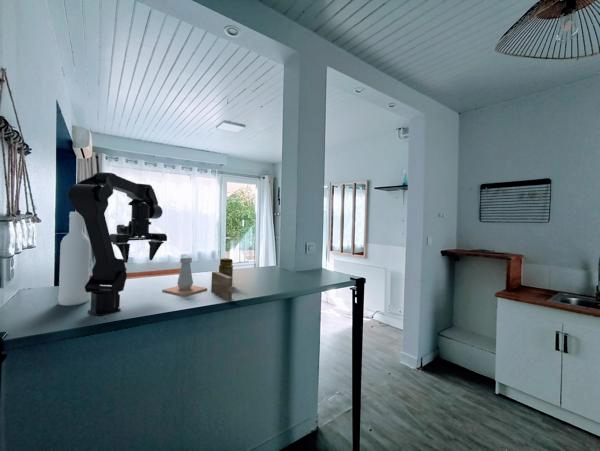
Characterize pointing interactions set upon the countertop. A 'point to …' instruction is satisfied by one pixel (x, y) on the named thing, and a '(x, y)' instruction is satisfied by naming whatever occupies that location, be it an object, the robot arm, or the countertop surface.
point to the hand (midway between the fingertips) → (138, 261)
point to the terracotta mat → (184, 292)
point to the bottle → (74, 263)
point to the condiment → (226, 267)
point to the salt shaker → (185, 274)
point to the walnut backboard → (222, 285)
